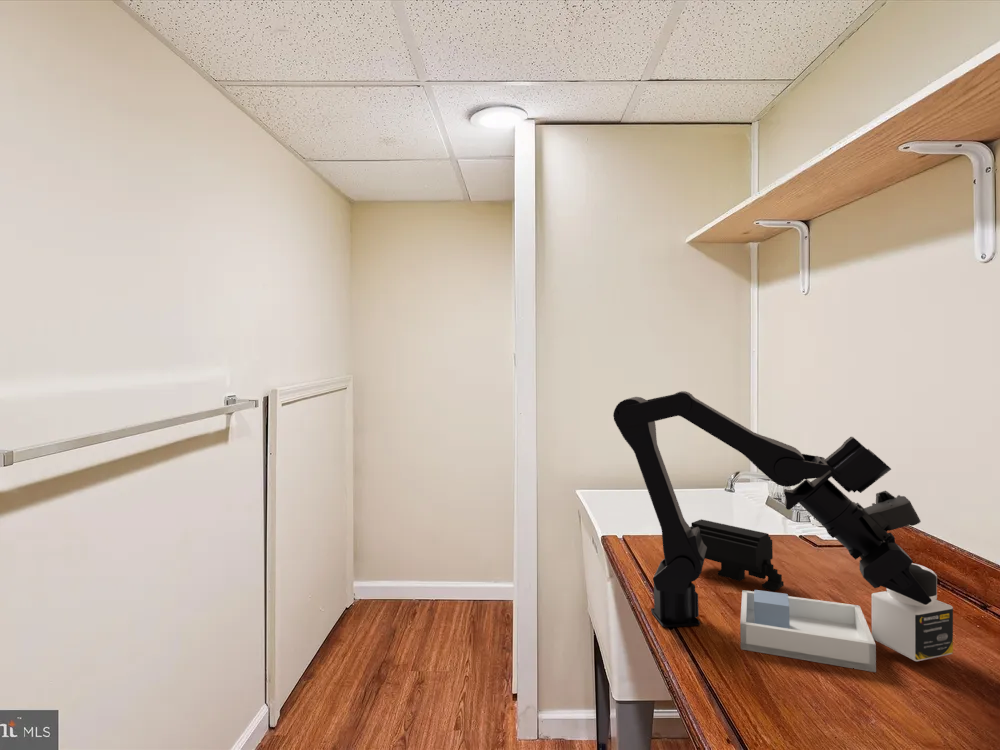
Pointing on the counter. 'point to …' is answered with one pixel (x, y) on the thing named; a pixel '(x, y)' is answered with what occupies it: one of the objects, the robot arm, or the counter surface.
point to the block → (771, 609)
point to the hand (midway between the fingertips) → (922, 593)
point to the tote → (812, 633)
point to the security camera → (739, 552)
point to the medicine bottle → (914, 620)
